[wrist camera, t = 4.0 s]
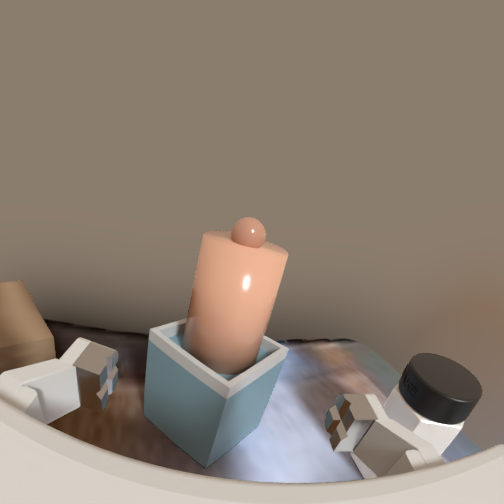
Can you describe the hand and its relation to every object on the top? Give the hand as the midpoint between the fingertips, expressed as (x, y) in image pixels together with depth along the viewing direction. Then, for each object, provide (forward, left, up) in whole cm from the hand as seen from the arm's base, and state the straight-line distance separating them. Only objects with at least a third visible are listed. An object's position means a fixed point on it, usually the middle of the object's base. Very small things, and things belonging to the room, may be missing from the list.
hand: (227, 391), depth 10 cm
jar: (+18, -11, -16) cm, 26 cm away
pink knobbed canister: (+10, +7, -6) cm, 14 cm away
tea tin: (+10, +7, -15) cm, 19 cm away
